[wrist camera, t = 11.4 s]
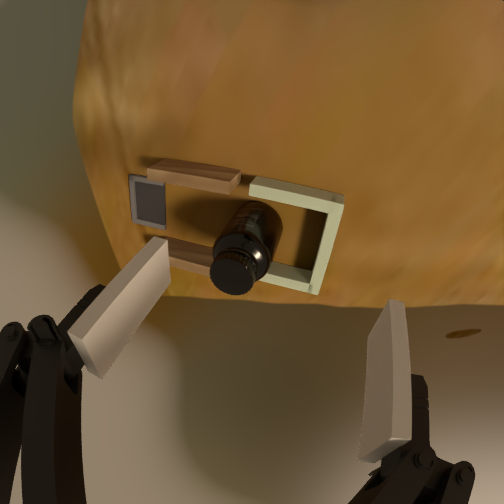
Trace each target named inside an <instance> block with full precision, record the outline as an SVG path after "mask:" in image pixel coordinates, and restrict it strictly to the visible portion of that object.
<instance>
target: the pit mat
mask: <svg viewBox="0 0 504 504" xmlns="http://www.w3.org/2000/svg"><path fill="white" fill-rule="evenodd" d="M129 187H130V200H131V212H132V222H133V223H137V224H141V225H146V226H150V227H154V228H158V229H162V230H165V229H166V207H165V183H162V182H156V181H150V180H147V176H142V175H135V174H130V175H129Z"/></svg>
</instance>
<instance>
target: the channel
mask: <svg viewBox="0 0 504 504" xmlns="http://www.w3.org/2000/svg"><path fill="white" fill-rule="evenodd" d="M147 180H150V181H156V182H162V183H168V184H173V185H179V186H184V187H190V188H195V189H201V190H206V191H211V192H216V193H222V194H227V195H229V194H230V193H231V192H232V191H233V190H234V188H235V187H236V186H237V185H238V184H239V183H240V180H241V170H236V169H231V168H225V167H219V166H213V165H207V164H200V163H194V162H187V161H180V160H173V159H166V158H165V159H163V160H161V161H159V162H157V163H156V164H154V165H152V166H150V167H148V168H147ZM165 239H166V240H168V255H169V265H170V266H173V267H177V268H180V269H184V270H187V271H191V272H194V273H198V274H202V275H205V276H209V277H210V275H209V274H210V272H209V270H210V266H211V265H212V263H213V256H212V250H213V248H210V247H206V246H202V245H198V244H194V243H190V242H186V241H182V240H178V239H174V238H170V237H166V238H165Z"/></svg>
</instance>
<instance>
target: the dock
mask: <svg viewBox="0 0 504 504" xmlns="http://www.w3.org/2000/svg"><path fill="white" fill-rule="evenodd" d="M249 196H254V197H258V198H263V199H268V200H272V201H277V202H282V203H286V204H290V205H295V206H299V207H304V208H308V209H312V210H316V211H321V212H325V213H327V216H326V220H325V224H324V228H323V232H322V236H321V240H320V244H319V247H318V251H317V255H316V259H315V262H314V266H313V269H312V271H310V270H306V269H301V268H297V267H293V266H289V265H285V264H281V263H277V262H273V261H272V263H271V266H270V269H269V271H268V272H267V274H266V275H265V276H264V277H263V278H261V279H260V280H259V281H263V282H267V283H271V284H275V285H279V286H283V287H287V288H291V289H295V290H299V291H303V292H307V293H312V294H316V295H318V293H319V290H320V287H321V284H322V280H323V277H324V274H325V271H326V267H327V264H328V261H329V258H330V254H331V251H332V247H333V244H334V240H335V237H336V233H337V230H338V226H339V223H340V219H341V215H342V212H343V208H344V195H341V194H337V193H332V192H328V191H324V190H320V189H316V188H311V187H307V186H302V185H298V184H293V183H289V182H284V181H279V180H274V179H270V178H265V177H259V176H256V177H255V178H254V180H253V181H252V182H251V183H250V189H249Z"/></svg>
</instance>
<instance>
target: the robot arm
mask: <svg viewBox="0 0 504 504" xmlns="http://www.w3.org/2000/svg"><path fill="white" fill-rule="evenodd" d="M503 1H504V0H503ZM170 283H171V280H170V268H169V255H168V240H166V239H162V238H159V237H155V236H154V237H153V238H152V239H151V240H150V241H149V242H148V243H147V244H146V245H145V246H144V247H143V248H142V249H141V250H140V251H139V252H138V253H137V254H136V255H135V256H134V257H133V258H132V260H131V261H130V262H129V263H128V264H127V265H126V266H125V267H124V268H123V269H122V270H121V271H120V272H119V273H118V274H117V276H116V277H115V278H114V279H113V280H112V281H111V282H110V283H109V284H108V285H107V286H103V285H101V284H99V285H97V286H95V287H94V288H92V289H90V290H89V291H88V292H87V293H86V295H84V297H83V298H82V299H81V300H80V301H79V302H78V303H77V305H76V306H74V308H73V309H72V310H71V311H70V312H69V313H68V314H67V315H66V317H65V318H64V319H63V320H62V321H61V322H60V323H59V325H58V326H57V325H56V324H55V321H54V320H53V318H52V317H50V316H49V315H39V316H37V317H35V318H33V319H32V320H31V322H29V324H28V327H27V329H28V330H29V331H25V330H24V328H23V327H22V325H21V324H20V323H18V322H11V323H8V324H7V325H6V326H4V327H3V329H2V330H1V332H0V504H9V503H10V497H11V491H12V485H13V480H14V475H15V470H16V465H17V461H18V457H19V452H20V449H21V480H22V498H23V504H86V495H85V486H84V476H83V463H82V444H81V443H82V441H81V394H82V393H81V392H82V371H81V369H82V367H83V366H84V364H85V366H86V367H87V370H88V371H89V372H90V373H92V374H94V375H96V376H98V377H99V378H101V379H103V377H104V376H105V374H106V373H107V371H108V370H109V368H110V367H111V366H112V364H113V363H114V361H115V360H116V358H117V357H118V355H119V354H120V352H121V351H122V349H123V348H124V346H125V345H126V344H127V342H128V341H129V339H130V338H131V337H132V335H133V334H134V332H135V331H136V329H137V328H138V327H139V325H140V324H141V323H142V321H143V320H144V318H145V317H146V316H147V314H148V313H149V311H150V310H151V309H152V307H153V306H154V304H155V303H156V302H157V300H158V299H159V298H160V296H161V295H162V294H163V292H164V291H165V290H166V288H167V287H168V285H169V284H170ZM17 365H18V367H17V368H16V366H17ZM15 368H16V369H15ZM428 408H429V403H428V387H427V385H426V382H425V380H424V378H423V376H421V375H414V374H411V369H410V355H409V342H408V332H407V323H406V315H405V307H404V302H401V301H397V300H393V299H389V300H388V302H387V304H386V306H385V307H384V309H383V311H382V313H381V315H380V317H379V318H378V320H377V322H376V324H375V325H374V327H373V329H372V331H371V333H370V334H369V336H368V348H367V371H366V387H365V400H364V412H363V421H362V430H361V438H360V446H359V454H358V461H361V462H370V463H376V462H377V461H379V460H381V459H382V461H381V467H379V468H377V469H376V470H374V471H372V472H371V473H370V474H368V475H369V476H371V475H372V477H371V478H370V479H369V480H368V481H367V483H366V484H365V485H364V486H363V487H362V489H361V490H360V491H359V492H358V493H357V494H356V495H355V496H354V498H353V499H352V500H351V501H350V502H349V503H348V504H468V501H469V498H470V495H471V491H472V488H473V484H474V480H475V471H474V468H473V466H472V465H471V464H470V463H469V462H467V461H461V462H458V463H456V464H452V463H449V462H447V461H444V460H442V459H440V458H438V457H437V456H436V454H435V451H434V450H433V449H432V448H431V447H430V441H429V410H428ZM21 445H22V448H21Z"/></svg>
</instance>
